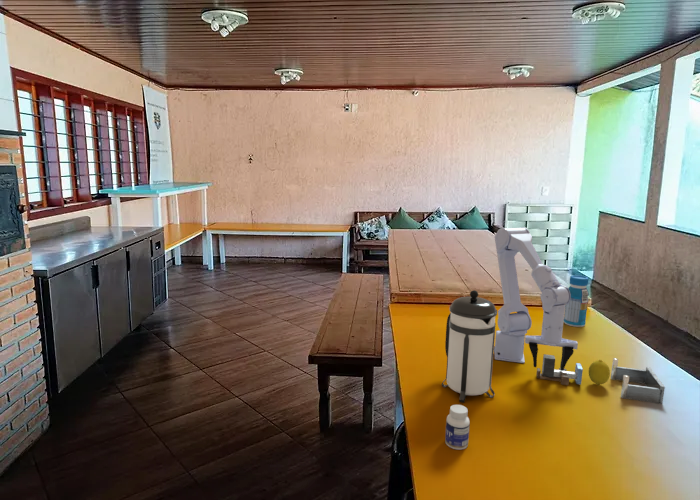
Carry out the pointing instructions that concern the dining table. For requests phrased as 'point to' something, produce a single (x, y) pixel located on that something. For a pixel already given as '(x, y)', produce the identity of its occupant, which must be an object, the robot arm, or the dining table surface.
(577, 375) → the rod
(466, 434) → the pill bottle
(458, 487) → the dining table surface
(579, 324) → the beverage bottle
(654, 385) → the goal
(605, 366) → the lemon
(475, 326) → the coffee press
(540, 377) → the track
